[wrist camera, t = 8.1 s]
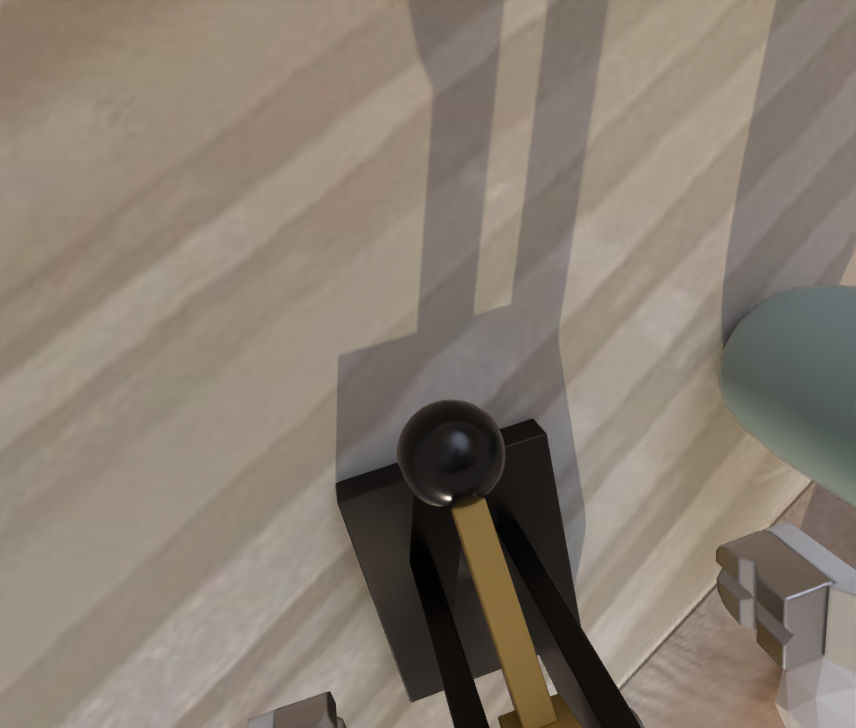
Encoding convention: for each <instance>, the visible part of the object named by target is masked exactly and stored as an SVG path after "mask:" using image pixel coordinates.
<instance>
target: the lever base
mask: <svg viewBox="0 0 856 728" xmlns="http://www.w3.org/2000/svg"><path fill="white" fill-rule="evenodd" d="M500 431H501V434H502V436H503V439H504V443H505V450H506V460H505V467H504V471H503V474H502V476H501V479H500V481H499V483H498V484H497V486H496V487H495V489H494V490H493V491H492V492H491V493H490V494H489V495H488V496H487V497H486V498H485V500H486V503H487V506H488V509H489V512H490V515H491V518H492V521H493V524H494V528H495V531H496V534H497V537H498V540H499V543H500V546H501V549H502V552H503V555H504V558H505V561H506V564H507V567H508V570H509V573H510V576H511V579H512V582H513V585H514V588H515V591H516V594H517V598H518V601H519V604H520V607H521V610H522V613H523V616H524V619H525V622H526V625H527V628H528V631H529V634H530V637H531V640H532V643H533V646H534V649H535V652H536V655H540V657H541V660H542V662H543V664H544V666H545V668H546V670H547V672H548V674H549V676H550V678H551V680H552V682H553V684H554V686H555V688H556V691H557V693H558V694H560V695H561V697H562V698H563V700H564V701H565V702H566V704H567V705H568V707H569V708H570V710H571V711H572V712H573V714H574V715H575V717H576V718H577V719H578V721H579V722H580V724H581V725H582V726H583V728H644V726H643V724H642V722H641V720H640V718H639V717H638V715H637V714H636V713H635V712H634V710H633V709H631V708H629V706H628V705H627V703H626V701H625V700H624V698H623V696H622V695H621V693H620V691H619V690H618V688H617V686H616V685H615V683H614V681H613V680H612V678H611V676H610V675H609V673H608V671H607V670H606V668H605V666H604V665H603V663H602V661H601V660H600V658H599V656H598V655H597V653H596V651H595V650H594V648H593V646H592V645H591V643H590V641H589V640H588V638H587V636H586V635H585V633H584V631H583V630H582V628H581V624H580V619H579V613H578V607H577V602H576V596H575V591H574V585H573V579H572V574H571V568H570V563H569V557H568V551H567V546H566V540H565V535H564V529H563V523H562V518H561V512H560V507H559V501H558V495H557V490H556V484H555V479H554V473H553V467H552V462H551V456H550V451H549V445H548V439H547V434H546V433H545V431H544V430H543V429H542V428H541V427H540V426H539V425H538V424H537V423H536V421H535V420H534V419H530V420H527V421H524V422H521V423H518V424H515V425H512V426H509V427H506V428H503V429H500ZM335 485H336V494H337V503H338V506H339V508H340V511H341V514H342V517H343V519H344V522H345V525H346V528H347V530H348V533H349V536H350V539H351V541H352V544H353V547H354V550H355V552H356V555H357V558H358V560H359V563H360V566H361V569H362V571H363V574H364V577H365V580H366V582H367V585H368V588H369V591H370V593H371V596H372V599H373V601H374V604H375V607H376V610H377V612H378V615H379V618H380V621H381V623H382V626H383V629H384V632H385V634H386V637H387V640H388V643H389V645H390V648H391V651H392V653H393V656H394V659H395V662H396V664H397V667H398V670H399V673H400V675H401V678H402V681H403V684H404V686H405V689H406V692H407V695H408V697H409V700H410V702H411V703H412V702H415V701H417V700H420V699H423V698H425V697H428V696H431V695H433V694H436V693H438V692H441V691H445V695H446V699H447V702H448V706H449V710H450V713H451V717H452V721H453V725H454V728H489V725H488V722H487V719H486V716H485V713H484V710H483V707H482V704H481V701H480V698H479V695H478V692H477V689H476V686H475V683H474V680H473V679H476V678H478V677H481V676H484V675H486V674H489V673H492V672H494V671H497V670H499V669H501V666H500V663H499V660H498V656H497V653H496V650H495V647H494V644H493V641H492V638H491V634H490V631H489V628H488V625H487V622H486V619H485V616H484V612H483V609H482V606H481V603H480V600H479V597H478V594H477V590H476V587H475V584H474V581H473V578H472V575H471V572H470V569H469V565H468V562H467V559H466V556H465V553H464V550H463V547H462V543H461V540H460V537H459V534H458V531H457V528H456V525H455V521H454V518H453V515H452V512H451V510H447V509H440V508H437V507H433V506H431V505H429V504H426V503H425V502H423V501H422V500H420V499H419V498H418V497H416V496H415V495H414V494H413V493H412V492H411V491H410V490H409V488H408V487H407V485H406V484H405V482H404V480H403V478H402V476H401V474H400V471H399V467H398V463H395V464H392V465H389V466H386V467H383V468H380V469H377V470H374V471H371V472H368V473H365V474H362V475H358V476H355V477H352V478H349V479H346V480H343V481H340V482H337V483H336V484H335Z"/></svg>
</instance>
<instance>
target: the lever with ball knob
mask: <svg viewBox="0 0 856 728" xmlns="http://www.w3.org/2000/svg"><path fill="white" fill-rule="evenodd" d="M505 460H506V450H505V443H504V439H503V436H502V434H501V431H500V429H499V428H498V426H497V424H496V423H495V422H494V420H493V419H492V418H491V417H490V416H489V415H488V414H487V413H486V412H485V411H484V410H482V409H481V408H479V407H477V406H476V405H473V404H471V403H468V402H465V401H460V400H442V401H438V402H434V403H432V404H429V405H427V406H425V407H423V408H422V409H420V410H419V411H418V412H416V413H415V414H414V415H413V416H412V417H411V418H410V419H409V421H408V422H407V423H406V425H405V427H404V428H403V430H402V433H401V435H400V438H399V442H398V447H397V461H398V467H399V471H400V474H401V476H402V478H403V480H404V482H405V484H406V485H407V487H408V488H409V490H410V491H411V492H412V493H413V494H414V495H415V496H416V497H418V498H419V499H420V500H422V501H423V502H425V503H426V504H429V505H431V506H433V507H437V508H440V509H447V510H451V512H452V515H453V518H454V521H455V525H456V528H457V531H458V534H459V537H460V540H461V543H462V547H463V550H464V553H465V556H466V559H467V562H468V565H469V569H470V572H471V575H472V578H473V581H474V584H475V587H476V590H477V594H478V597H479V600H480V603H481V606H482V609H483V612H484V616H485V619H486V622H487V625H488V628H489V631H490V634H491V638H492V641H493V644H494V647H495V650H496V653H497V656H498V660H499V663H500V666H501V669H502V672H503V675H504V678H505V681H506V685H507V688H508V691H509V694H510V697H511V700H512V703H513V707H514V710H515V711H512V712H509V713H507V714H504V715H502V716H499V717H498V720H499V723H500V726H501V728H583V726H582V725H581V724H580V722H579V721H578V719H577V718H576V717H575V715H574V714H573V712H572V711H571V710H570V708H569V707H568V705H567V704H566V702H565V701H564V700H563V698H562V697H561V695H560V694H556V695H553V696H551V697H550V695H549V692H548V689H547V686H546V683H545V680H544V677H543V674H542V671H541V668H540V664H539V661H538V658H537V655H536V652H535V649H534V646H533V643H532V640H531V637H530V634H529V631H528V628H527V625H526V622H525V619H524V616H523V613H522V610H521V607H520V604H519V601H518V598H517V594H516V591H515V588H514V585H513V582H512V579H511V576H510V573H509V570H508V567H507V564H506V561H505V558H504V555H503V552H502V549H501V546H500V543H499V540H498V537H497V534H496V531H495V528H494V524H493V521H492V518H491V515H490V512H489V509H488V506H487V503H486V500H485V498H486V497H487V496H488V495H489V494H490V493H491V492H492V491H493V490H494V489H495V487H496V486H497V484H498V483H499V481H500V479H501V476H502V474H503V471H504V467H505Z"/></svg>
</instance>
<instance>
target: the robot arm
mask: <svg viewBox="0 0 856 728" xmlns="http://www.w3.org/2000/svg"><path fill="white" fill-rule="evenodd" d="M716 562H717V563H718V564H719V565H720V566H721V567H722V570H721V571H720V573H719V575H718V576H717V587H718V592H719V595H720V597H721V599H722V602H723V604H724V606H725V607H726V608H727V610H728V611H729V613H730V614H731V615H732V616H733V617H734V619H735V620H736V621H737V622H738V623H739V624H740V625H743V626H745V627H748V628H750V629H753V630H755V632H756V639H757V643H758V644H759V645H760V646H761V647H762V648H763V649H764V650H765V651H766V652H767V653H768V654H769V656H770V657H771V658H772V659H773V660H774V661H775V662H776V663H777V664H778V665H779V666H780V667H781V668H782V669H783V670H787V669H790V668H792V667H795V666H798V665H800V664H803V663H806V662H809V661H811V660H814V659H817V658H820V657H822V656H825V657H824V658H825V659H827V660H829V661H831V662H833V663H835V664H837V665H839V666H841V667H843V668H845V669H847V670H849V671H851V672H853V673H855V674H856V570H855V569H853V568H852V567H851V566H849V565H848V564H847V563H845V562H844V561H842V560H841V559H840V558H838V557H837V556H836V555H834V554H833V553H831V552H830V551H829V550H827V549H826V548H825V547H823V546H822V545H821V544H819V543H818V542H816V541H815V540H814V539H812V538H811V537H810V536H808V535H807V534H806V533H804V532H803V531H801V530H800V529H799V528H797V527H796V526H795V525H793V524H791V523H788V522H783V523H780V524H777V525H774V526H772V527H769V528H766V529H764V530H762V531H757V532H754V533H752V534H749V535H747V536H744V537H742V538H739V539H736V540H734V541H731V542H729V543H726V544H723V545H721V546H719V547H718V549H717V551H716ZM246 728H346V726H345V723H344V721H343V719H342V718H340V717H337V713H336V703H335V701H334V699H333V697H332V694H331V692H325V693H322V694H319V695H316V696H314V697H311V698H308V699H305V700H302V701H299V702H296V703H293V704H290V705H287V706H284V707H281V708H278V709H276V710H273V711H270V712H267V713H264V714H262V715H259V716H256V717H253V718H250V719H249V721H248V724H247V726H246Z"/></svg>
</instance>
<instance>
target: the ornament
mask: <svg viewBox="0 0 856 728" xmlns="http://www.w3.org/2000/svg"><path fill="white" fill-rule="evenodd" d="M824 657H825V656H822V657H820V658H817V659H814V660H811V661H809V662H806V663H803V664H800V665H798V666H795V667H792V668H790V669H787V670H782V674H781V678H780V682H779V686H778V690H777V694H776V698H775V705H776V707H777V709H778V711H779V714H780V716H781V718H782V720H783V722H784V725H785V727H786V728H856V674H855V673H853V672H851V671H849V670H847V669H845V668H843V667H841V666H839V665H837V664H835V663H833V662H831V661H829V660H827V659H825V658H824Z"/></svg>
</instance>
